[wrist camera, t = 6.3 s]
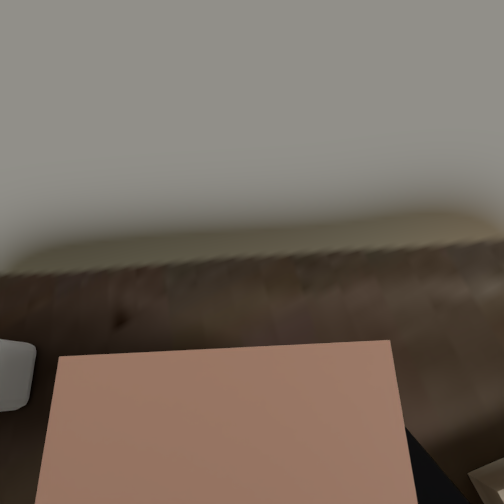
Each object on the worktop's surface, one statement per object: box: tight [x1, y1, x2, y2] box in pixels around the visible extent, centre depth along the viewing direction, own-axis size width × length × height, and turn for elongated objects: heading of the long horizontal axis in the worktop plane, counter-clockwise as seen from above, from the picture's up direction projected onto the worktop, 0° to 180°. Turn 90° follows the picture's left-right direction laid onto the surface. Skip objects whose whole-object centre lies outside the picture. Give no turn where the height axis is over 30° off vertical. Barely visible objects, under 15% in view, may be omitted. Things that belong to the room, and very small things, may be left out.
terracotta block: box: [35, 340, 418, 504], centre depth 9 cm, size 5×5×11 cm
